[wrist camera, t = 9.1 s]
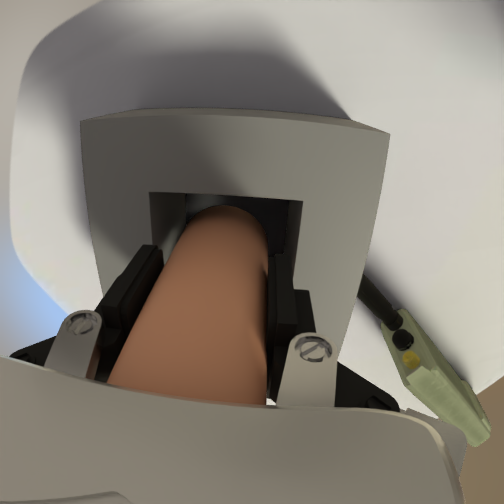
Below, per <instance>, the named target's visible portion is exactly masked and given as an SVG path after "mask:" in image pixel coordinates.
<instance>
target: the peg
mask: <svg viewBox="0 0 504 504" xmlns="http://www.w3.org/2000/svg"><path fill="white" fill-rule="evenodd" d="M267 274H268V240H267V236H266V233H265V231H264V229H263V227H262V225H261V224H260V223H259V221H258V220H257V219H256V218H255V217H254V216H252V215H251V214H250V213H248V212H246V211H244V210H242V209H240V208H237V207H233V206H226V205H219V206H213V207H209V208H206V209H204V210H202V211H200V212H199V213H197V214H196V215H195V216H194V217H193V218H192V219H191V220H190V221H189V223H188V224H187V226H186V228H185V229H184V231H183V233H182V235H181V237H180V238H179V240H178V242H177V244H176V246H175V247H174V249H173V251H172V253H171V255H170V257H169V258H168V260H167V262H166V264H165V266H164V268H163V269H162V271H161V273H160V275H159V277H158V279H157V281H156V283H155V285H154V286H153V288H152V290H151V292H150V294H149V296H148V298H147V300H146V302H145V304H144V306H143V308H142V310H141V312H140V314H139V316H138V318H137V320H136V322H135V324H134V326H133V328H132V330H131V332H130V334H129V336H128V338H127V340H126V342H125V344H124V346H123V348H122V350H121V353H120V355H119V357H118V359H117V361H116V363H115V365H114V368H113V370H112V372H111V374H110V376H109V378H108V381H107V383H109V384H113V385H118V386H123V387H128V388H133V389H138V390H143V391H149V392H155V393H161V394H167V395H174V396H180V397H188V398H195V399H204V400H212V401H221V402H232V403H243V404H257V405H266V394H267V352H266V327H267Z"/></svg>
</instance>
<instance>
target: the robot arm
mask: <svg viewBox="0 0 504 504" xmlns="http://www.w3.org/2000/svg"><path fill="white" fill-rule="evenodd" d="M163 268H164V258H163V251H162V249H159V248H158V246H157V245H147V244H143V245H142V246H141V247H140V249H139V250H138V251H137V253H136V254H135V256H134V257H133V258H132V260H131V261H130V263H129V264H128V265H127V267H126V268H125V270H124V271H123V272H122V274H121V275H119V276H118V277H117V278H116V280H115V281H114V282H113V284H112V285H111V287H110V288H109V290H108V291H107V293H106V294H105V296H104V297H103V298H102V300H101V301H100V303H99V304H98V306H97V307H96V309H95V310H94V311H91V310H80V311H77V312H74V313H72V314H70V315H69V316H67V317H66V318H65V319H64V321H63V322H62V324H61V327H60V329H59V331H58V333H57V336H54V337H52V338H49V339H46V340H44V341H41V342H39V343H36V344H33V345H31V346H28V347H25V348H23V349H20V350H18V351H16V352H14V353H13V354H11V355H10V356H9V357H8V356H3V355H0V504H466V503H465V498H464V495H463V491H462V487H461V484H460V481H459V476H460V472H461V468H462V464H463V461H464V456H465V452H466V448H467V439H466V436H465V434H464V432H463V431H462V430H461V429H460V428H458V427H456V426H454V425H451V424H449V423H446V422H443V421H440V420H438V419H435V418H433V417H430V416H427V415H425V414H422V413H420V412H417V411H415V410H412V409H410V408H407V409H406V411H405V410H402V409H400V408H399V405H398V403H397V402H396V400H395V399H394V398H393V397H392V396H391V395H389V394H388V393H386V392H385V391H383V390H382V389H380V388H378V387H377V386H375V385H374V384H372V383H370V382H369V381H367V380H366V379H364V378H363V377H361V376H359V375H358V374H356V373H355V372H353V371H352V370H350V369H349V368H347V367H346V366H344V365H342V364H341V363H339V362H338V361H337V354H338V352H337V347H336V345H335V343H334V342H333V341H332V340H331V339H330V338H328V337H326V336H324V335H322V334H318V333H316V327H315V321H314V315H313V309H312V303H311V298H310V292H309V290H302V289H294V286H293V277H292V269H291V260H290V255H287V254H275V257H269V263H268V274H267V327H266V352H267V398H269V399H271V400H273V401H274V402H275V403H276V405H257V404H243V403H232V402H221V401H212V400H204V399H195V398H188V397H180V396H174V395H167V394H161V393H155V392H149V391H143V390H138V389H133V388H128V387H123V386H118V385H113V384H109V383H107V381H108V378H109V376H110V374H111V372H112V370H113V368H114V365H115V363H116V361H117V359H118V357H119V355H120V353H121V350H122V348H123V346H124V344H125V342H126V340H127V338H128V336H129V334H130V332H131V330H132V328H133V326H134V324H135V322H136V320H137V318H138V316H139V314H140V312H141V310H142V308H143V306H144V304H145V302H146V300H147V298H148V296H149V294H150V292H151V290H152V288H153V286H154V285H155V283H156V281H157V279H158V277H159V275H160V273H161V271H162V269H163Z"/></svg>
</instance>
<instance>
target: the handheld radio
mask: <svg viewBox="0 0 504 504" xmlns="http://www.w3.org/2000/svg"><path fill="white" fill-rule="evenodd" d="M357 297H358V298H359V299H360V300H361V301H362V302H363V303H364V304H365V305H366V306H367V307H368V308H369V309H370V310H371V311H372V312H373V313H374V314H375V315H376V316H377V317H378V318H379V319H381V320H382V323H381V330H382V333H383V337H384V339H385V341H386V344H387V346H388V348H389V351H390V353H391V355H392V358H393V360H394V362H395V365H396V367H397V370H398V372H399V374H400V377H401V379H402V382H403V384H404V386H405V387H406V388H407V389H408V390H409V391H411V392H412V393H413V395H414V396H416V397H417V398H418V399H419V400H420V401H421V402H422V403H423V404H425V405H426V406H427V407H428V408H429V409H430V410H431V411H433V412H434V413H435V414H436V415H437V416H438V417H439V418H440V419H442V421H444V422H446V423H449V424H451V425H454V426H456V427H458V428H460V429H461V430H462V431H463V432H464V434H465V436H466V439H467V442H468V443H469V444H470V445H471V446H473V447H477V446H479V445H480V444H481V443H483V442H484V441H485V440H487V439H488V438H489V437H490V430H491V424H490V422H489V420H488V418H487V416H486V414H485V412H484V410H483V408H482V406H481V404H480V402H479V400H478V398H477V397H476V394H475V393H474V392H473V390H472V389H471V387H470V386H469V384H468V383H467V382H466V381H464V380H461V379H460V378H459V376H458V375H457V374H456V372H455V371H454V370H453V368H452V367H451V366H450V364H449V363H448V362H447V360H446V359H445V358H444V356H443V355H442V354H441V352H440V351H439V350H438V349H437V347H436V346H435V345H434V343H433V342H432V341H431V340H430V338H429V337H428V336H427V335H426V333H425V332H424V331H423V330H422V328H421V327H420V326H419V325H418V323H417V322H416V321H415V320H414V318H413V317H412V316H411V315H410V314H409V312H408V311H407V310H405V309H399V310H397V311H396V310H394V309H393V308H392V305H391V304H390V303H389V302H388V300H387V299H386V298H385V297H384V296H383V295H382V294H381V293H380V291H379V290H378V289H377V288H376V287H375V286H374V285H373V284H372V283H371V281H370V280H369V279H368V278H367V277H366V276H365V275H364V274H362V278H361V282H360V286H359V289H358V293H357Z"/></svg>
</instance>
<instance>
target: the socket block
mask: <svg viewBox="0 0 504 504" xmlns="http://www.w3.org/2000/svg"><path fill="white" fill-rule="evenodd" d="M80 131H81V149H82V162H83V174H84V184H85V193H86V201H87V209H88V216H89V223H90V230H91V236H92V242H93V248H94V253H95V259H96V264H97V269H98V274H99V279H100V284H101V288H102V293H103V297H104V296H105V294H106V293H107V291H108V290H109V288H110V287H111V285H112V284H113V282H114V281H115V280H116V278H117V277H118V276H119V275H121V274H122V272H123V271H124V270H125V268H126V267H127V265H128V264H129V263H130V261H131V260H132V258H133V257H134V256H135V254H136V253H137V251H138V250H139V249H140V247H141V246H142V245H143V244H147V245H157V246H158V248H159V249H162V251H163V258H164V266H165V264H166V262H167V260H168V258H169V257H170V255H171V253H172V251H173V249H174V247H175V246H176V244H177V242H178V240H179V238H180V237H181V235H182V233H183V231H184V229H185V228H186V203H185V193H196V194H215V195H233V196H248V197H262V198H275V199H288V200H289V207H288V217H287V226H286V235H285V244H284V253H283V254H287V255H290V260H291V269H292V277H293V286H294V289H302V290H309V292H310V298H311V303H312V309H313V315H314V321H315V327H316V333H318V334H322V335H324V336H326V337H328V338H330V339H331V340H332V341H333V342H334V343H335V345H336V347H337V352H338V354H337V359H338V356H339V353H340V350H341V347H342V344H343V341H344V337H345V334H346V331H347V328H348V324H349V321H350V318H351V314H352V311H353V307H354V304H355V300H356V297H357V293H358V289H359V286H360V282H361V278H362V274H363V270H364V266H365V262H366V258H367V254H368V250H369V246H370V242H371V237H372V233H373V228H374V224H375V219H376V214H377V209H378V204H379V199H380V194H381V189H382V183H383V177H384V172H385V166H386V159H387V153H388V147H389V140H390V134H389V133H386V132H384V131H381V130H378V129H376V128H373V127H370V126H368V125H365V124H362V123H359V122H356V121H353V120H349V119H342V118H335V117H328V116H320V115H312V114H303V113H293V112H282V111H269V110H254V109H234V108H155V109H135V110H130V111H124V112H119V113H114V114H109V115H105V116H100V117H95V118H91V119H87V120H83V121H80ZM268 263H269V260H268Z"/></svg>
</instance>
